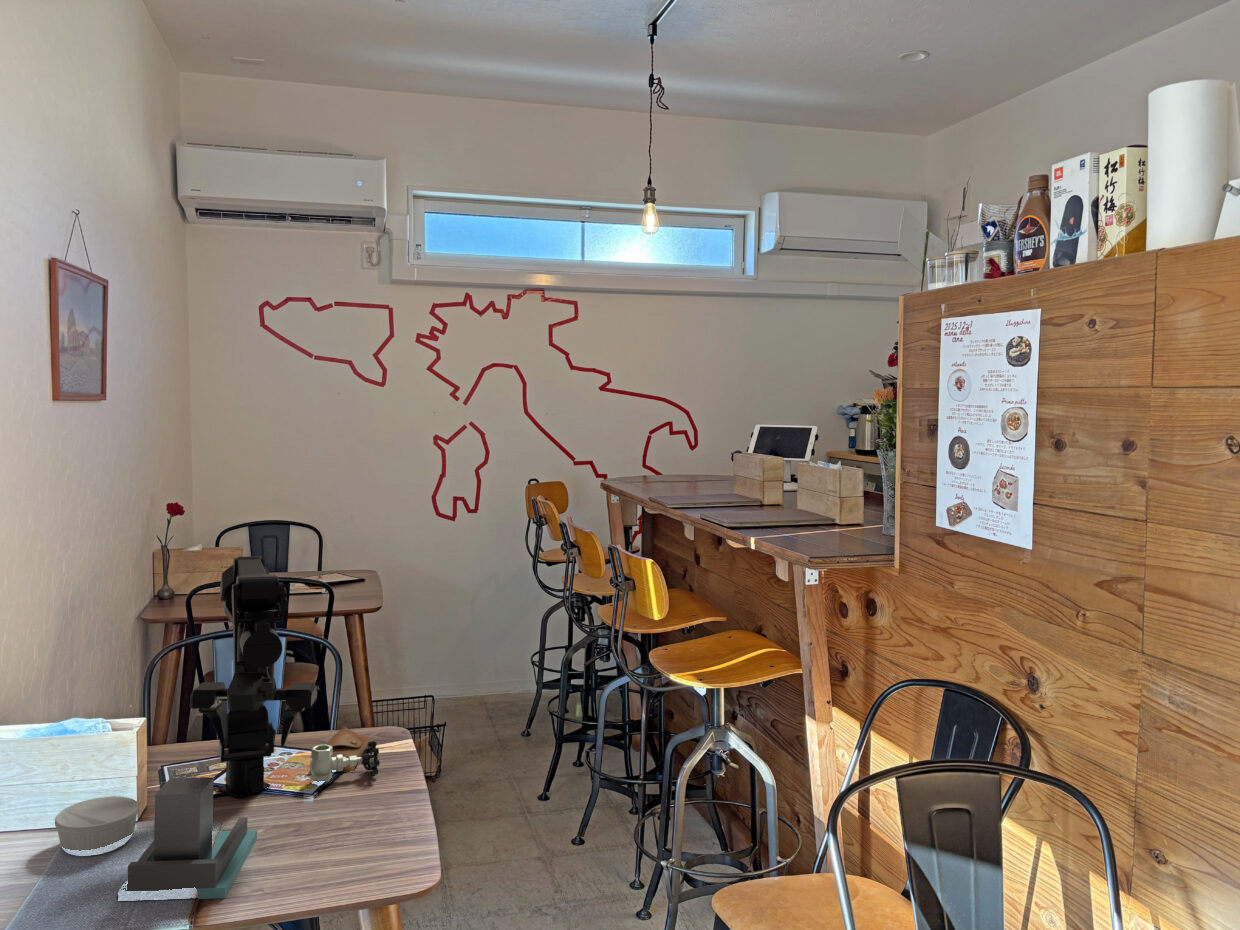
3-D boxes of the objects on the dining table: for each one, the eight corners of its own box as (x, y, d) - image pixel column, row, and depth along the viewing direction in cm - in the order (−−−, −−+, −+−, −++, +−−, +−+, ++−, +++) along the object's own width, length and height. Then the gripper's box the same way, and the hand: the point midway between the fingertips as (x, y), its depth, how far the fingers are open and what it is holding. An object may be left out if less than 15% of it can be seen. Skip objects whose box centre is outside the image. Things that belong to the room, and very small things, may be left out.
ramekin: (40, 862, 133) (41, 827, 132) (74, 829, 144) (74, 796, 144) (121, 860, 134) (122, 825, 134) (148, 827, 145) (149, 795, 145)
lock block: (168, 861, 131) (170, 777, 131) (211, 860, 132) (213, 777, 132) (153, 882, 125) (155, 794, 125) (198, 881, 126) (200, 793, 126)
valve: (312, 791, 162) (379, 780, 168) (313, 755, 162) (380, 746, 168) (306, 778, 168) (370, 768, 174) (307, 743, 168) (371, 735, 173)
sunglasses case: (355, 773, 171) (338, 743, 170) (323, 791, 170) (306, 760, 170) (378, 740, 188) (363, 713, 188) (349, 756, 188) (333, 729, 188)
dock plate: (163, 841, 140) (164, 810, 140) (257, 839, 143) (257, 808, 142) (116, 902, 123) (117, 866, 122) (224, 898, 125) (225, 862, 125)
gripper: (179, 665, 137) (176, 765, 138) (305, 665, 140) (303, 764, 141) (201, 647, 148) (199, 740, 149) (318, 648, 151) (316, 739, 152)
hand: (253, 746), depth 147 cm, fingers open, 9 cm apart
